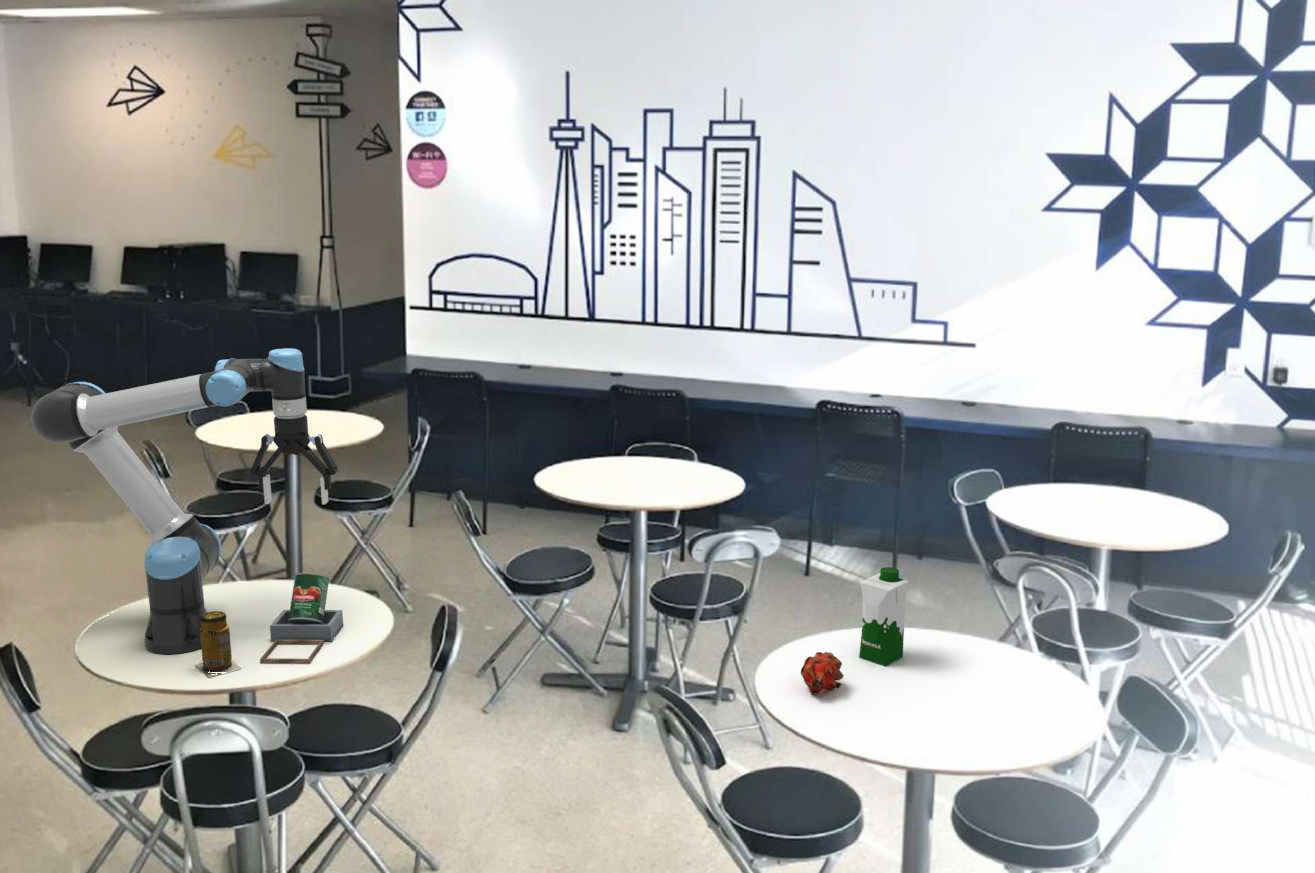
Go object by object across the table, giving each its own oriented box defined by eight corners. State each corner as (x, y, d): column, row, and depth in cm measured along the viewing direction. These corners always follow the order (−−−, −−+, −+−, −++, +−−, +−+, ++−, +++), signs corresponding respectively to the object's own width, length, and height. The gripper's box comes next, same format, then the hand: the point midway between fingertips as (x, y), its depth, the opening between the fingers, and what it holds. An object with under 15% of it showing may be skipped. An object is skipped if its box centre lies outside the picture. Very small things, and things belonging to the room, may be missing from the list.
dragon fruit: (830, 683, 264) (819, 715, 253) (798, 659, 264) (786, 690, 253) (854, 659, 260) (844, 690, 249) (821, 634, 260) (810, 664, 249)
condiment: (227, 657, 274) (223, 606, 271) (242, 669, 268) (237, 617, 265) (195, 665, 270) (190, 614, 267) (208, 678, 263) (203, 626, 260)
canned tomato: (290, 617, 280) (297, 570, 284) (286, 623, 287) (292, 578, 291) (325, 621, 283) (331, 575, 287) (320, 628, 290) (326, 582, 294)
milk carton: (908, 656, 274) (912, 572, 269) (886, 669, 267) (890, 582, 262) (875, 646, 279) (878, 562, 275) (852, 657, 273) (856, 573, 268)
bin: (271, 642, 282) (269, 625, 281) (284, 625, 292) (283, 609, 291) (331, 642, 282) (330, 626, 281) (343, 625, 292) (342, 610, 291)
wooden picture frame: (260, 663, 271) (260, 659, 270) (276, 643, 281) (276, 639, 281) (309, 663, 270) (309, 659, 270) (324, 643, 281) (323, 639, 281)
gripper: (231, 418, 283) (239, 506, 287) (338, 419, 282) (344, 507, 287) (242, 411, 290) (250, 497, 295) (347, 412, 289) (353, 498, 294)
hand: (296, 502), depth 291 cm, fingers open, 13 cm apart
